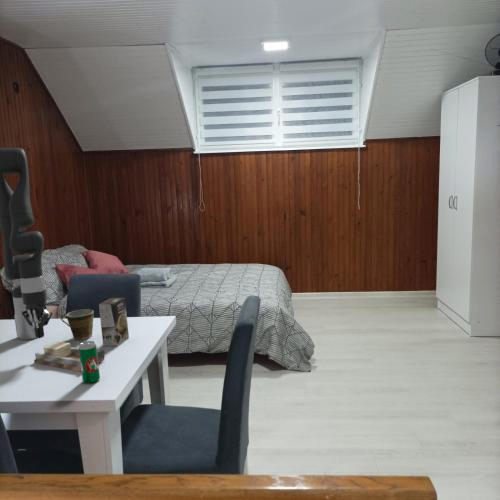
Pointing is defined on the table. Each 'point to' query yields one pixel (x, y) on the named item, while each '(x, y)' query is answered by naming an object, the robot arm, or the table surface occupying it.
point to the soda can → (89, 362)
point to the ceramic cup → (80, 323)
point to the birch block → (58, 349)
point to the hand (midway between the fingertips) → (40, 337)
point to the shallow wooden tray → (65, 359)
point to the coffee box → (113, 321)
